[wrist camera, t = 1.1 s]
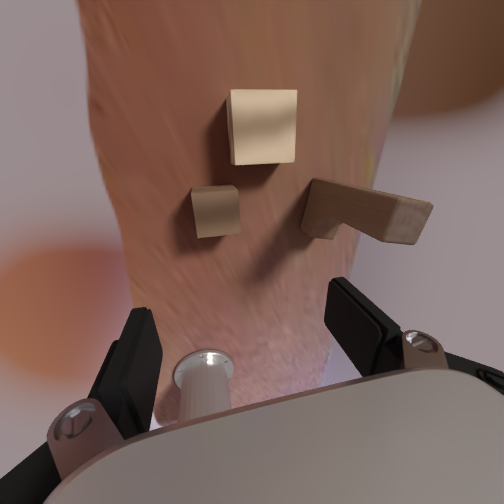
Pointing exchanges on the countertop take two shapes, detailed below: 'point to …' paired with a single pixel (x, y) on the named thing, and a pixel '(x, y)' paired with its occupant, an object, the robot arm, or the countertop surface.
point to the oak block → (261, 126)
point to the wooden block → (363, 212)
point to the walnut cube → (216, 210)
